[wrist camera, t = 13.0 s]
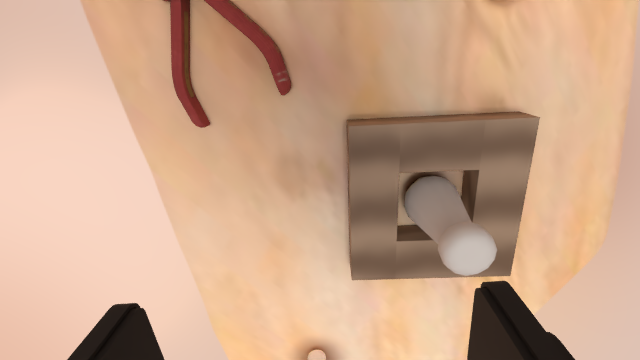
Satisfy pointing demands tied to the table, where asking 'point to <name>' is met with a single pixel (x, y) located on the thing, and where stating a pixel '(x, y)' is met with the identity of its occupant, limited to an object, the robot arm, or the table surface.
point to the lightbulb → (316, 355)
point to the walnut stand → (430, 156)
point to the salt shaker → (449, 225)
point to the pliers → (182, 52)
